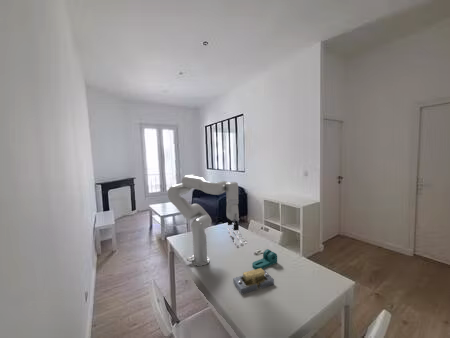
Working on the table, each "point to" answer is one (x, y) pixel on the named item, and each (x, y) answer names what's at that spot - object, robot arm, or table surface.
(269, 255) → the bracket
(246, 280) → the yellow rectangular block
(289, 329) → the table surface
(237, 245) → the miniature set
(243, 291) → the grey pocketed fixture tray
